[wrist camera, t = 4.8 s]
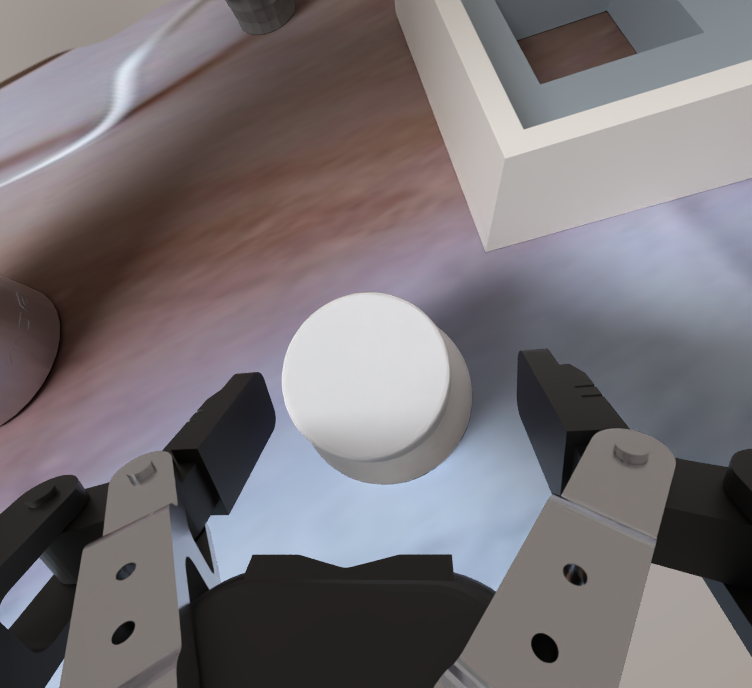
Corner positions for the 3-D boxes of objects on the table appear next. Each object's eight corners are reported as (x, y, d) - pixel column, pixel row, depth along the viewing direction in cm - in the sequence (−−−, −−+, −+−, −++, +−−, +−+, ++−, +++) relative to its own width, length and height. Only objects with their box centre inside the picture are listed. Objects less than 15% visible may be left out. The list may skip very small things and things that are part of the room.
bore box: (485, 252, 18) (504, 158, 13) (395, 13, 25) (382, -116, 20) (825, 157, 17) (1017, 4, 11) (632, -69, 24) (691, -234, 18)
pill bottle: (397, 339, 18) (357, 229, 9) (487, 408, 16) (536, 348, 8) (324, 423, 17) (212, 384, 9) (410, 505, 15) (372, 554, 7)
